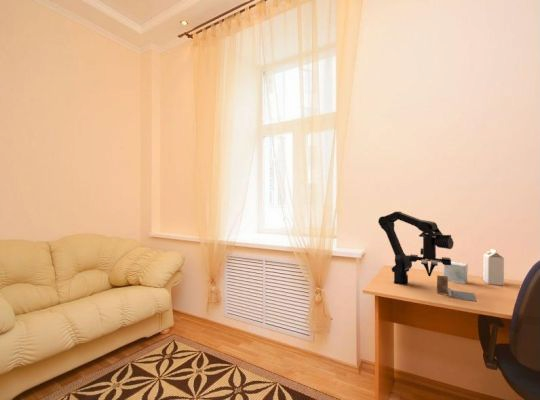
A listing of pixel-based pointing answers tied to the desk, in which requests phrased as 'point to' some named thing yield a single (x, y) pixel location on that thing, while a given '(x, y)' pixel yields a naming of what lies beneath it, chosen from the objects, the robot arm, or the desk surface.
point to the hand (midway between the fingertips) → (429, 276)
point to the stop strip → (449, 292)
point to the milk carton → (493, 268)
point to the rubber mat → (464, 295)
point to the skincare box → (456, 272)
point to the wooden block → (442, 285)
